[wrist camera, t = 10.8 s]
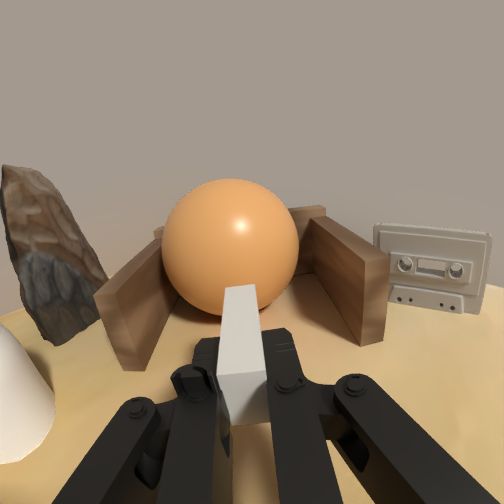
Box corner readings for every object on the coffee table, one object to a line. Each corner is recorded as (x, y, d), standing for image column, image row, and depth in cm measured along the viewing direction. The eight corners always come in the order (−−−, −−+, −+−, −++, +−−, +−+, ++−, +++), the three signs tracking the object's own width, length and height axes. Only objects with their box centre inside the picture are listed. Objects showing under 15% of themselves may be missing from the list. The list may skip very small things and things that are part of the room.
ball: (117, 211, 19) (165, 197, 31) (177, 356, 22) (199, 295, 35) (288, 156, 18) (271, 165, 31) (326, 320, 21) (299, 269, 34)
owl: (52, 354, 21) (-3, 159, 15) (16, 330, 26) (-23, 187, 20) (125, 303, 32) (91, 145, 26) (76, 294, 37) (47, 169, 31)
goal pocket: (123, 370, 19) (88, 282, 17) (171, 283, 37) (159, 227, 35) (383, 340, 19) (390, 243, 17) (323, 263, 37) (319, 205, 34)
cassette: (369, 299, 26) (370, 225, 24) (375, 292, 27) (376, 221, 25) (479, 318, 18) (494, 237, 16) (479, 308, 19) (491, 231, 17)
